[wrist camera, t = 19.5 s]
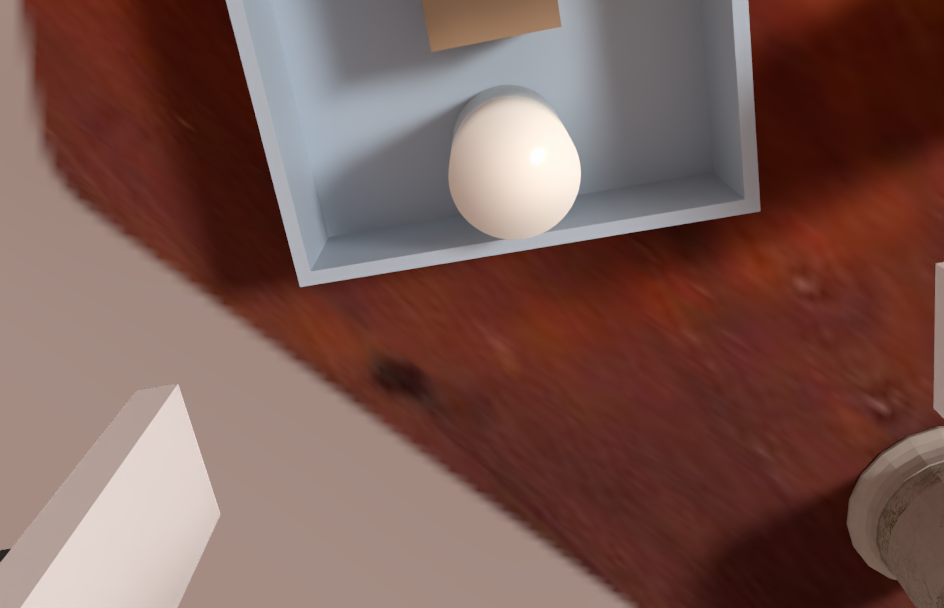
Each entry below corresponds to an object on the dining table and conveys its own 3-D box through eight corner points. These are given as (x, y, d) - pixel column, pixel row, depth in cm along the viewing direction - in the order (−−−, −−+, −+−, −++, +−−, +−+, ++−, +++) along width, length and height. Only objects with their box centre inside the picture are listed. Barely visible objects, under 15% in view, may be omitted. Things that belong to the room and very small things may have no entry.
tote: (237, -96, 37) (198, -106, 32) (697, -186, 36) (735, -211, 31) (321, 247, 42) (299, 287, 37) (724, 179, 41) (760, 211, 36)
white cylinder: (443, 95, 39) (437, 121, 33) (555, 75, 39) (571, 98, 32) (463, 203, 41) (460, 249, 35) (570, 185, 41) (588, 228, 34)
